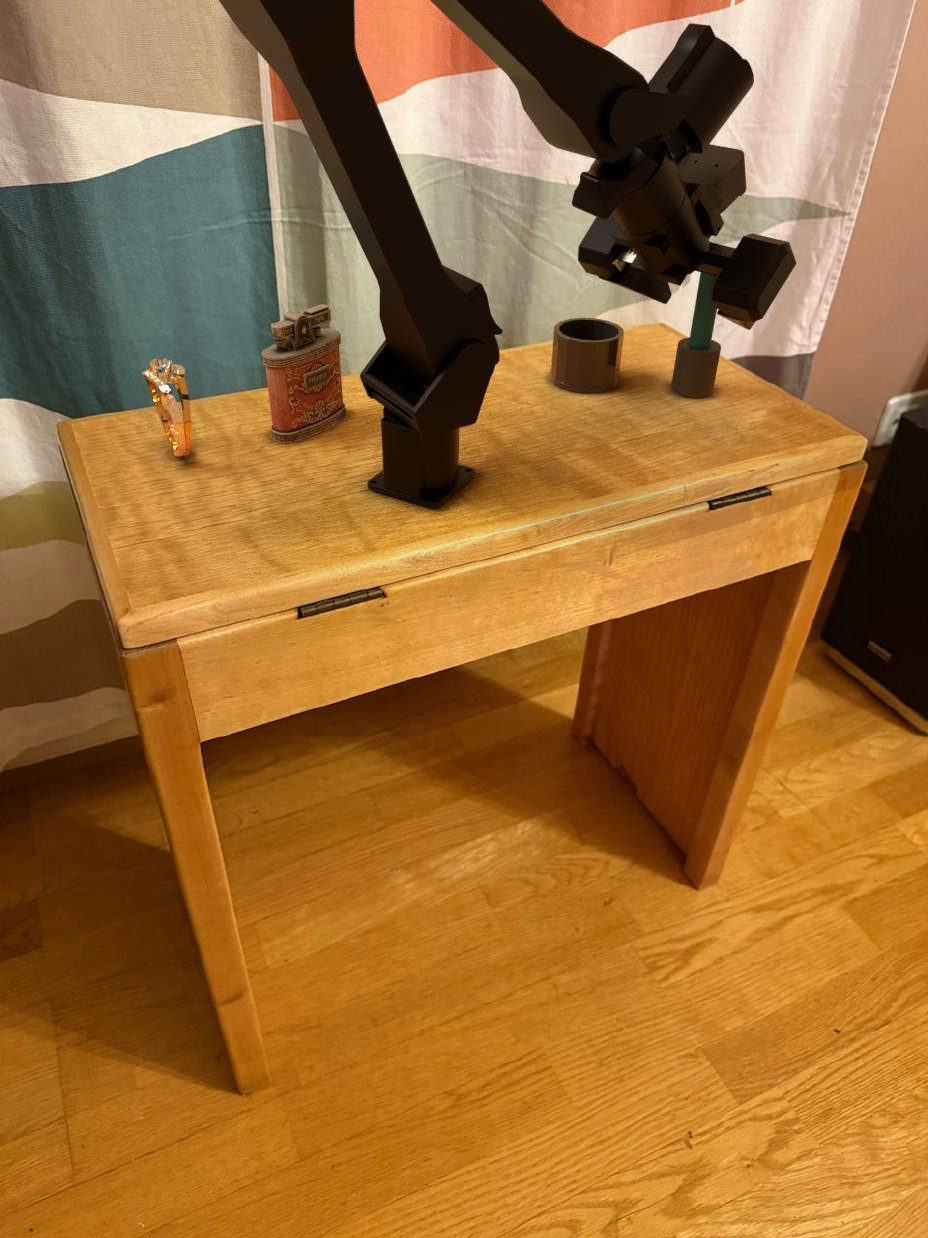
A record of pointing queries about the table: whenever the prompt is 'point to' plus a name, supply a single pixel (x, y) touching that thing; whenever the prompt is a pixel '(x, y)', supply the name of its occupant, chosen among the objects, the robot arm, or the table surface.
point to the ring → (171, 403)
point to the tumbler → (586, 355)
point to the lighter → (304, 375)
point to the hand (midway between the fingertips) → (708, 311)
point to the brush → (698, 348)
